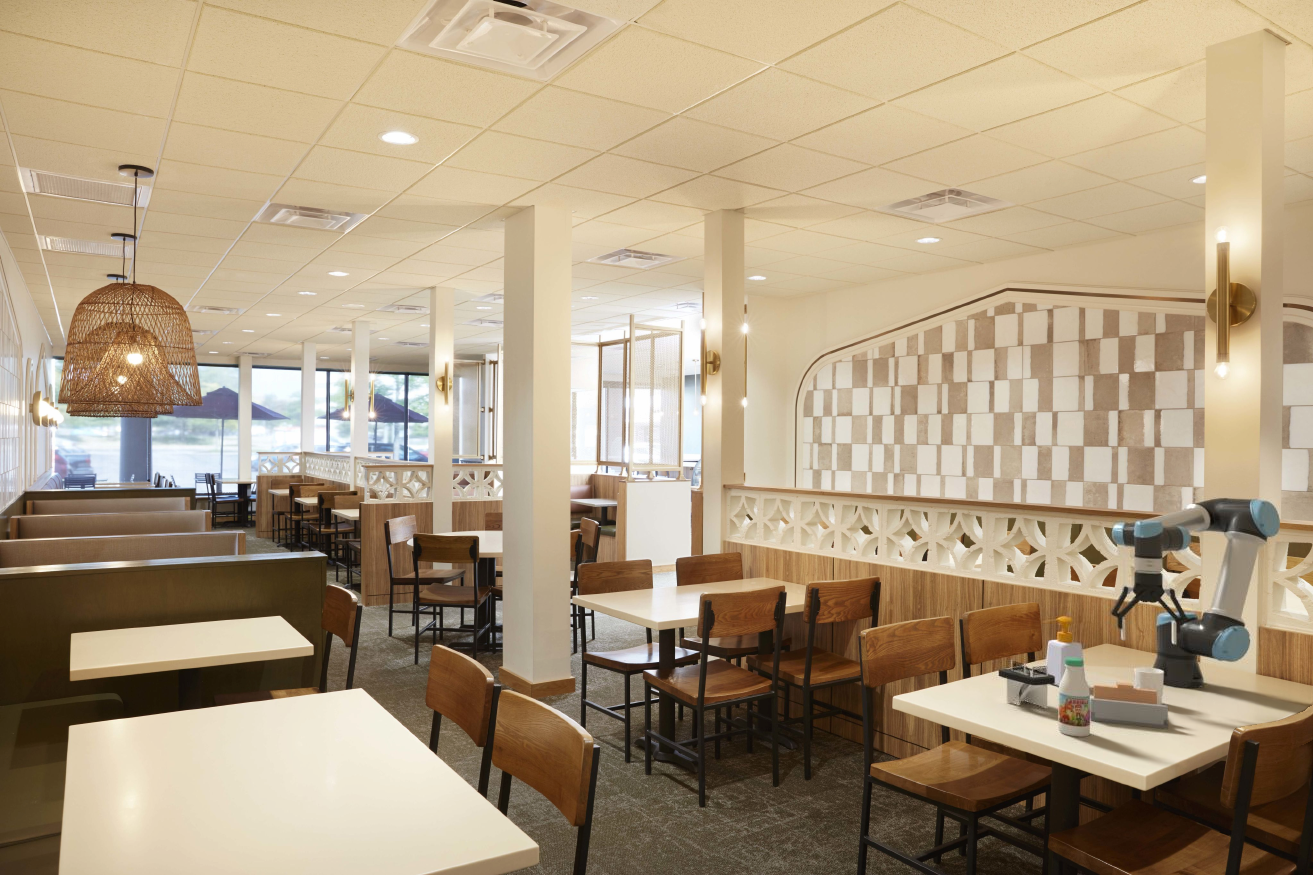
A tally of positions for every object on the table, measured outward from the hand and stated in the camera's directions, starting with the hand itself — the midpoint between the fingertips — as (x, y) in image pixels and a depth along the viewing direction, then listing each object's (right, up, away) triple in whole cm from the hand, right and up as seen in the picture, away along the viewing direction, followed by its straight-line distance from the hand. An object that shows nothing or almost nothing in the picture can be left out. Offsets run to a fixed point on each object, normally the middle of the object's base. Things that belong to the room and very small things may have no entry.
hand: (1148, 641), depth 265 cm
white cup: (0, -19, 0) cm, 19 cm away
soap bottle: (-18, -19, +20) cm, 33 cm away
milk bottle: (-37, -18, -30) cm, 51 cm away
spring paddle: (-15, -17, -15) cm, 27 cm away
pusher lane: (-15, -18, -13) cm, 27 cm away
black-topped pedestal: (-39, -19, -5) cm, 44 cm away
